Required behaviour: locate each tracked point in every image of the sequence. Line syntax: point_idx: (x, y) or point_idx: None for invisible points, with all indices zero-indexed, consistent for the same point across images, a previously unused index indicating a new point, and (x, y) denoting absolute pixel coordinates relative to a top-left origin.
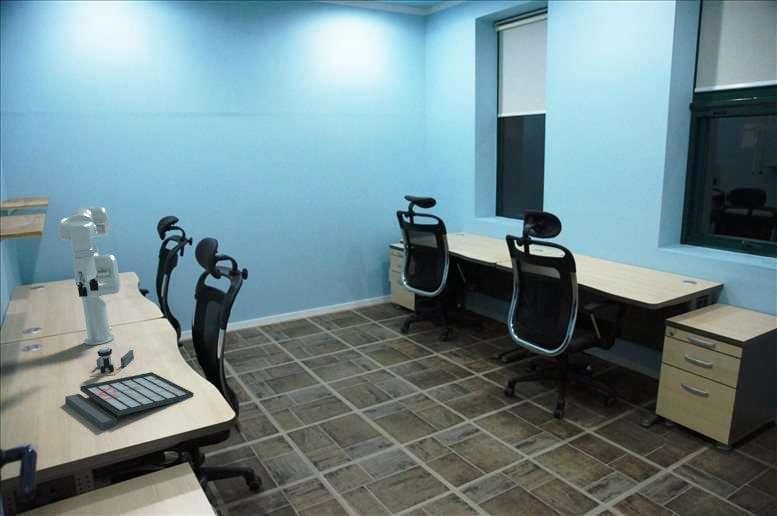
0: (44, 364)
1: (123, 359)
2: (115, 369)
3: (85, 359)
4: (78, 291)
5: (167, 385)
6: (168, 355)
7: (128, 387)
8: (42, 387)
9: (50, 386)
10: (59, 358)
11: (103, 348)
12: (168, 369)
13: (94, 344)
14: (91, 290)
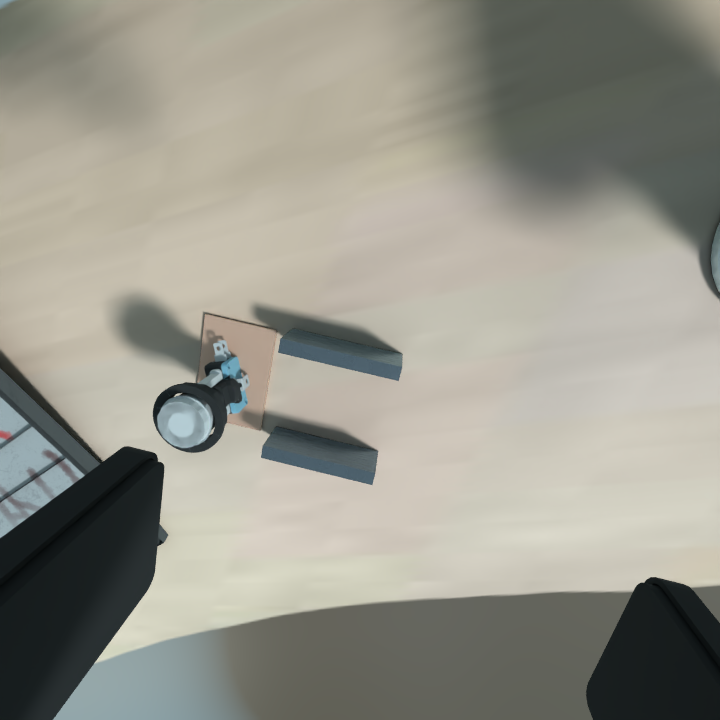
0: (472, 7)
1: (262, 454)
2: (252, 407)
3: (460, 237)
4: (36, 513)
5: None
6: (361, 582)
7: (20, 486)
8: (129, 128)
9: (133, 164)
10: (549, 71)
11: (184, 420)
12: (205, 583)
13: (717, 230)
14: (636, 598)
